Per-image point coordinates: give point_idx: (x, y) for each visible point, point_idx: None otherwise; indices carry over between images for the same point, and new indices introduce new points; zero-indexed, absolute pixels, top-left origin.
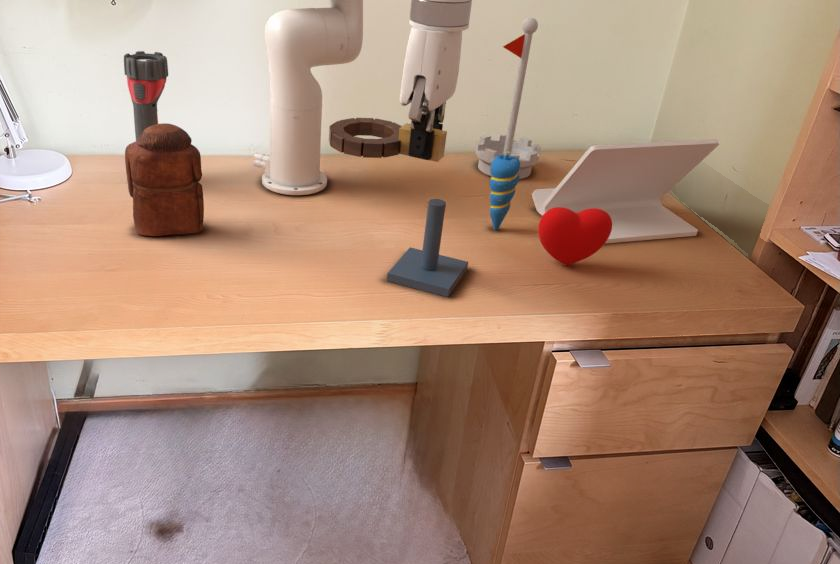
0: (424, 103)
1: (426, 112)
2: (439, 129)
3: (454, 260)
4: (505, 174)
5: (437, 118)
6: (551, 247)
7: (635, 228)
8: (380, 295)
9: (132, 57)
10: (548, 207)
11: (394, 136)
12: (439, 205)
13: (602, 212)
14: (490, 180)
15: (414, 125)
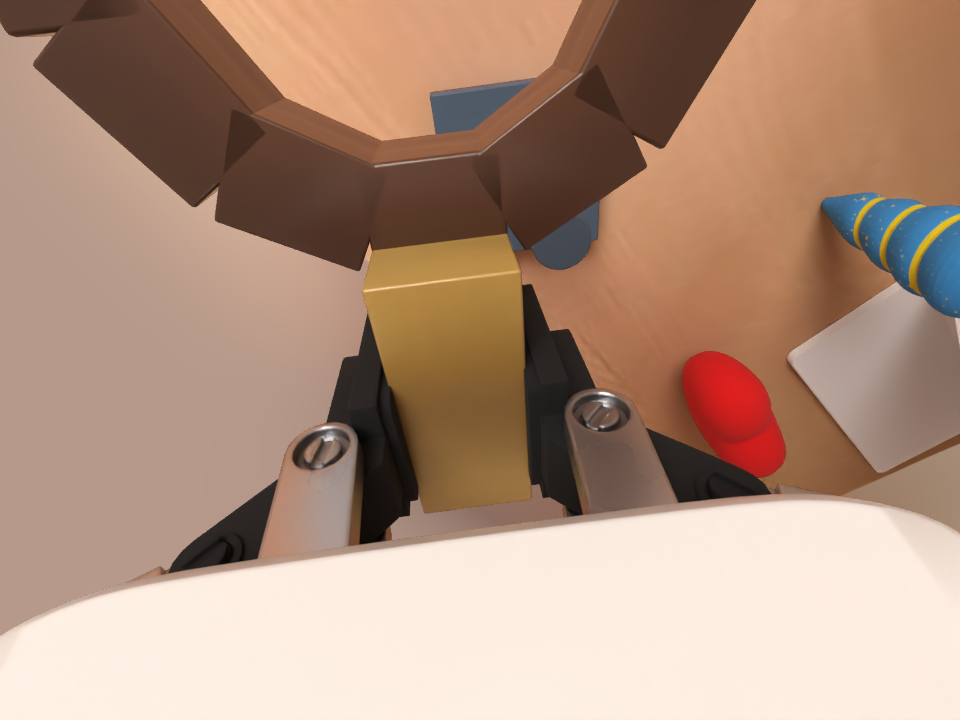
0: (588, 511)
1: (572, 462)
2: (529, 470)
3: (587, 211)
4: (923, 283)
5: (562, 500)
6: (684, 376)
7: (873, 412)
8: (358, 117)
9: None
10: None
11: (407, 195)
12: (540, 260)
13: (760, 475)
14: (938, 218)
15: (263, 498)
